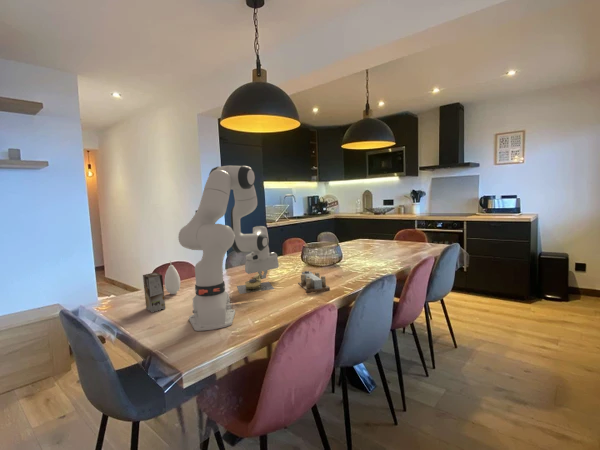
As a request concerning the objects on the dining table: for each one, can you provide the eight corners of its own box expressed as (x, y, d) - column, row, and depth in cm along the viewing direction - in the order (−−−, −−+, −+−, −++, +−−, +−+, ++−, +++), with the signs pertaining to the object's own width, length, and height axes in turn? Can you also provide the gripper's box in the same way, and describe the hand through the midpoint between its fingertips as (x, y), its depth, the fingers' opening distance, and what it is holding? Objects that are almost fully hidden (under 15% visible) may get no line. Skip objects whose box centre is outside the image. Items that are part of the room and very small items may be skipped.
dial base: (274, 290, 168) (274, 288, 168) (239, 295, 163) (239, 293, 163) (268, 283, 183) (268, 281, 183) (236, 287, 178) (236, 285, 178)
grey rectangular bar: (323, 288, 163) (323, 278, 162) (313, 289, 161) (312, 279, 161) (310, 278, 183) (310, 269, 182) (301, 280, 181) (300, 271, 181)
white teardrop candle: (166, 292, 176) (163, 260, 174) (181, 291, 178) (179, 258, 176) (164, 297, 168) (161, 262, 166) (180, 294, 170) (177, 261, 169)
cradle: (329, 290, 164) (329, 277, 163) (307, 293, 161) (306, 280, 160) (319, 282, 179) (318, 271, 179) (298, 285, 176) (297, 273, 175)
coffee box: (166, 308, 149) (162, 274, 147) (151, 312, 145) (148, 277, 143) (159, 304, 156) (156, 272, 154) (145, 308, 151) (142, 274, 150)
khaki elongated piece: (258, 289, 168) (258, 281, 168) (243, 289, 169) (243, 281, 169) (265, 280, 185) (265, 273, 185) (252, 280, 186) (251, 274, 186)
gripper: (274, 251, 191) (275, 274, 192) (242, 256, 178) (244, 281, 179) (280, 252, 186) (281, 276, 187) (248, 257, 173) (250, 283, 174)
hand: (263, 278), depth 183 cm, fingers closed
